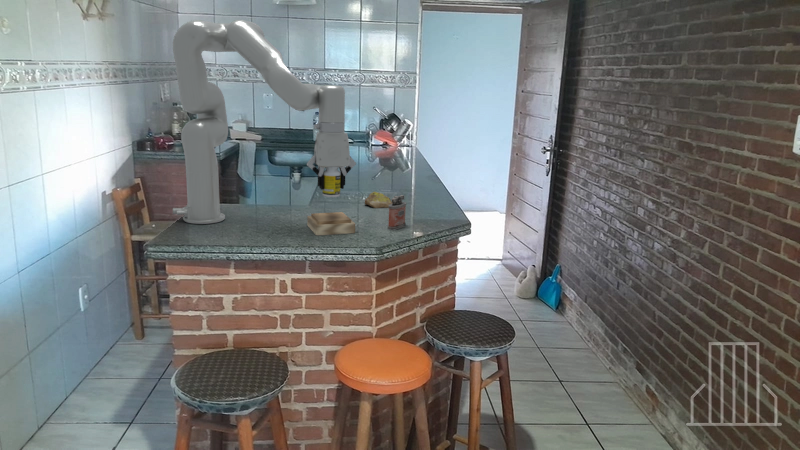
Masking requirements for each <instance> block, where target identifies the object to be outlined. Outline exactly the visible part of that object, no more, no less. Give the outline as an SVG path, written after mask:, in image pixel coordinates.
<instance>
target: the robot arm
mask: <svg viewBox="0 0 800 450" xmlns="http://www.w3.org/2000/svg"><path fill="white" fill-rule="evenodd" d="M172 52H173V58H174V59H173V60H174V64H175V69H176V77H177V85H178V91H179V98H180V104H181V107H182V109H183V110H185V112H187V113H189V114H191V115H192V114H193V115H197V118H195V119H194V118H193V119H191V120H189V121H187V123H185V124H184V126H183V128H182V130H181V133H180V139H181V144H182V148H183V153H184V161H185V174H186V175H185V177H186V178H185V179H186V196H187V197H186V198H187V199H186V200H187V204H186V206H183V207H172V215H177V216H182V215H183V217H182V219H183V221H184V222H186V223H189V224H192V225H193V224H196V225H205V224H206V225H208V224H215V223H220V222H222V221H224V220H225V219H226V215H225V214H224V213H222V212H221V210H220V209H221V208H220V186H219V185H220V183H219V182H220V181H219V180H220V179H219V163H218V157H217V153H216V150H215V148H216V147H219V146H221V145H223V144H224V143H225V142H226V141H227V139H228V135H229V124H228V123H229V122H228V116H227V109H226V102H225V96H224V94H223V91H222V90H221V88H220V87H219V86H218V85H217V84H215V83H213V82H210V81H209V80H208V74H207V66H206V63H205V59H204V58H203V55H202V53H203V52H212V53H230V52H231V53H234V52H236V53H238V54H239V55H240V56H241V57H242V58H243V59H244V60H245V61H246V62H248V64H249V65H251V66H252V67H253V68H254V69H255V70H256V71H257V72H258V73H259V74H260V75H261V77H262V78H263V80H264V81H265V82H266V84H267V85H268V86H269V88H270V89H271V90H272V92H274V93H275V94H276V95H277V96H278V97H279V98H280V99H281V100H282V101H283V102H285V104H286V105H288V106H289V107H291V108H292V109H294V110H295V111H299V112H302V111H303V112H304V111H309V110H315V109H318V123H315V124H314V125H313V129H314V130H318V132H316V135H315V142H314V150H313V151H314V152H313V155H312V157H311V158H310V159H309V160H308V161H307V162H306V166H307V167H308V168H309V169H311V170H312V171H313V172H314V173H315V174H316V175H317V186H318V187H319V189H320V190H321V191H322V190H323V189H324V176H323V172H324V171H325V169H326V168H325V167H339V168H338V170H339V171H340V173H341V182H340V183H341V184H340V190H341V189H343V190H344V188H345V186H346V176H347V174H348V173H349V172H350V171H351V170H352V169H353V168H354V167H355V166H356V165H357V162H356V161H355V160H354V159H353V157H352V156H351V154H350V143H349V141H350V140H349V136H348V132H345V116H346V112H345V111H346V110H345V109H346V108H345V107H346V105H345V103H346V102H345V101H346V98H345V97H346V90H345V88H344V86H341V85H333V84H329V85H328V84H326V85H325V84H324V85H319V84H316V83H303V82H302V81H301V80H300V79H298V78H297V76H296V75H295V74H294V73H292V72H291V71H290V70H289V68H288V67H287V66H286V64H285V62H284V59H283V55H282V53H281V52H280V50H279V49H277V48H276V46H274V45H273V44H272V43H271V42H270V41H269V40H268V39H267V38H266V37H265V33H264V31H263V29H262V28H261V26H260V25H259V24H257V23H255V22H254V21H253V22H252V21H249V20H245V19H236V20H233V21H232V22H230V23H229V22H226V23H225V22H224V23H223V22H220V23H219V22H213V21H207V20H200V19H199V20H198V19H194V20H190V21H187V22H185V23H184V24H182V25H181V26H180V27H178V29H177V30H176V32H175V34H174V35H173V41H172ZM315 165H316V166H318V167H316V166H315Z"/></svg>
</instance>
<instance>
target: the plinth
mask: <svg viewBox="0 0 800 450" xmlns="http://www.w3.org/2000/svg"><path fill="white" fill-rule="evenodd" d="M306 219H307V223H306V225H307V226H308V228H309V229H310V230H311V232H312V233H313V234H314V235H315V236H328V235H329V236H330V235H332V236H333V235H343V234H345V235H347V234H355V233H356V223H355V222H354V221H353V219H352V218H350V217H349V216H347V214H345V213H344V212H342V211H338V212H337V211H336V212H335V211H333V212H318V213H317V212H315V213H311V214H310V215H307V218H306Z"/></svg>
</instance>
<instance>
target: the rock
mask: <svg viewBox="0 0 800 450" xmlns="http://www.w3.org/2000/svg"><path fill="white" fill-rule="evenodd" d="M390 204H392V199H390V197H388V196H387V195H385V194H383V193H382V192H379V191H378V192H377V191H373V192H371V193H370V194H368V197H366V198H365V199H364V205H366V206H367V205H368V206H370V207H371V208H373V209H380V208H385V209H389V208H388V207H389V205H390Z"/></svg>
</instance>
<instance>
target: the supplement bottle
mask: <svg viewBox="0 0 800 450" xmlns="http://www.w3.org/2000/svg"><path fill="white" fill-rule="evenodd" d="M323 176H324V189H323V190H321V191H322V196H323V197H326V198H338V197H340V196H341V188H340V184H341V183H340V182H341V173H340V170H339V167H325V168H324V171H323Z"/></svg>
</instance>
